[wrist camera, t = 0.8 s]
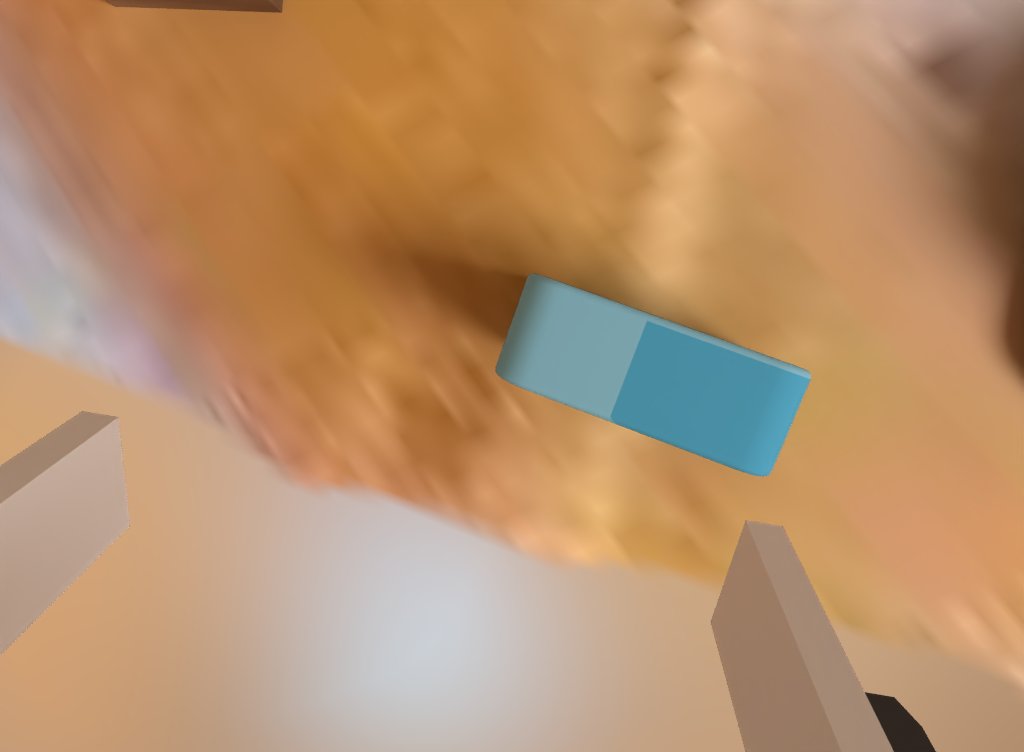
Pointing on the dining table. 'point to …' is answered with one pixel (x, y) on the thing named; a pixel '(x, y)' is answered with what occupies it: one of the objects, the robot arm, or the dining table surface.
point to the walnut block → (205, 4)
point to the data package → (652, 375)
